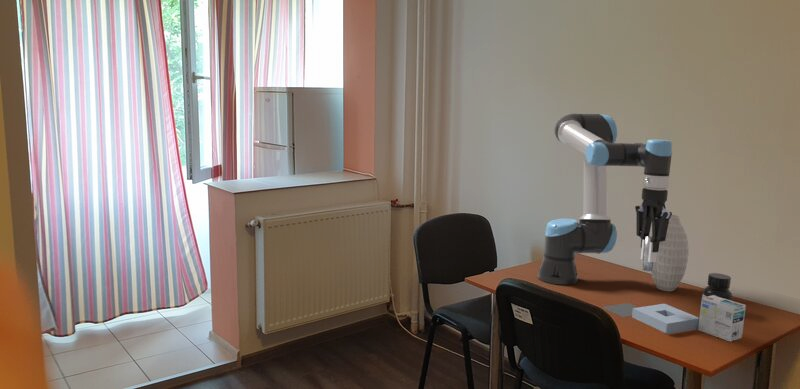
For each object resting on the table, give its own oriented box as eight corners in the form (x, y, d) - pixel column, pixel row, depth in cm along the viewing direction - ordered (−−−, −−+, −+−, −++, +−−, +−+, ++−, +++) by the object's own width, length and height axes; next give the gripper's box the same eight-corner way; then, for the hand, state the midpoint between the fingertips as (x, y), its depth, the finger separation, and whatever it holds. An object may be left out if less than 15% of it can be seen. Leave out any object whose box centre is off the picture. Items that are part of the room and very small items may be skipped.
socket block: (631, 318, 202) (632, 308, 201) (663, 313, 208) (664, 303, 207) (665, 334, 189) (667, 323, 189) (698, 328, 195) (699, 318, 195)
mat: (600, 308, 211) (601, 306, 211) (627, 304, 216) (627, 303, 215) (622, 318, 202) (622, 317, 202) (649, 314, 207) (650, 312, 207)
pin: (640, 269, 202) (643, 236, 200) (647, 268, 203) (650, 235, 201) (647, 271, 199) (650, 237, 197) (654, 270, 200) (657, 237, 198)
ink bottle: (695, 304, 218) (699, 271, 216) (719, 304, 219) (723, 271, 217) (711, 314, 208) (715, 280, 206) (736, 314, 209) (740, 280, 207)
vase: (648, 281, 243) (656, 211, 238) (684, 287, 238) (692, 215, 233) (646, 290, 232) (654, 216, 227) (683, 296, 226) (692, 221, 221)
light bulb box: (742, 338, 189) (747, 304, 187) (730, 342, 185) (735, 308, 183) (709, 326, 198) (713, 294, 196) (696, 330, 194) (700, 297, 192)
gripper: (628, 185, 202) (622, 255, 206) (665, 192, 188) (658, 267, 192) (645, 184, 205) (639, 253, 209) (683, 191, 191) (676, 265, 195)
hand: (648, 260), depth 200 cm, fingers closed on pin, 2 cm apart
